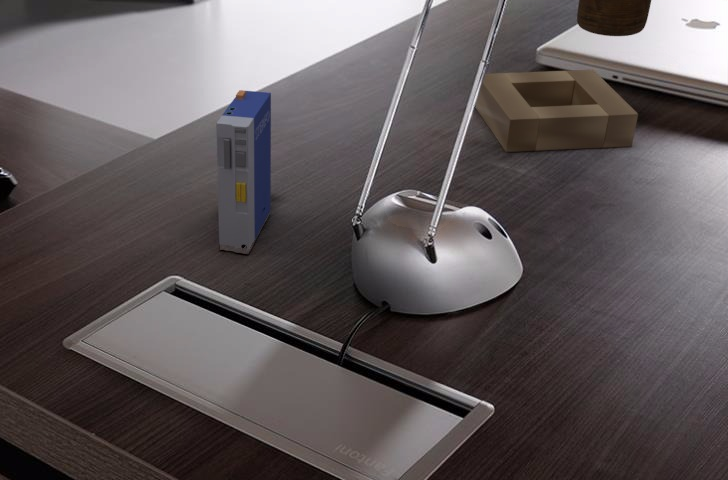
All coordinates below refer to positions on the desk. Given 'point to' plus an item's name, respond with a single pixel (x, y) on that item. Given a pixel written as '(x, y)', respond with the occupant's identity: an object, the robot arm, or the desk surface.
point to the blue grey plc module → (244, 168)
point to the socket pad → (555, 111)
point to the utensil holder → (613, 16)
